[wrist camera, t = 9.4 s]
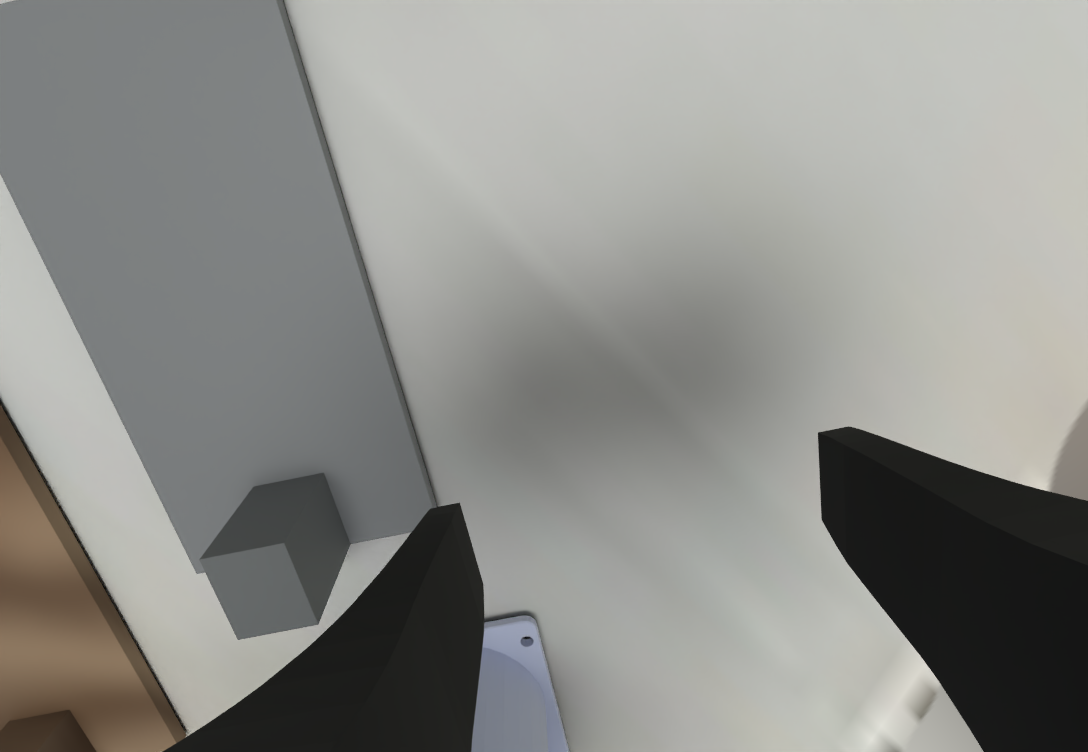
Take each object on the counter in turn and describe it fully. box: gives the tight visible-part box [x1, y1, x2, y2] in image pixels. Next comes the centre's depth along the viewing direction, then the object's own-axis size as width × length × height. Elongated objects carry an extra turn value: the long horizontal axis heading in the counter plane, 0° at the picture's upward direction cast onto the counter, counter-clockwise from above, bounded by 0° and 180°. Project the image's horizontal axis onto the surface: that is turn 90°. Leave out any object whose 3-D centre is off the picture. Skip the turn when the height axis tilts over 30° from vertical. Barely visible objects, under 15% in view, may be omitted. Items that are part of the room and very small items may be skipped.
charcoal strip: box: [0, 0, 437, 640], centre depth 18 cm, size 18×9×5 cm, turn 11°
